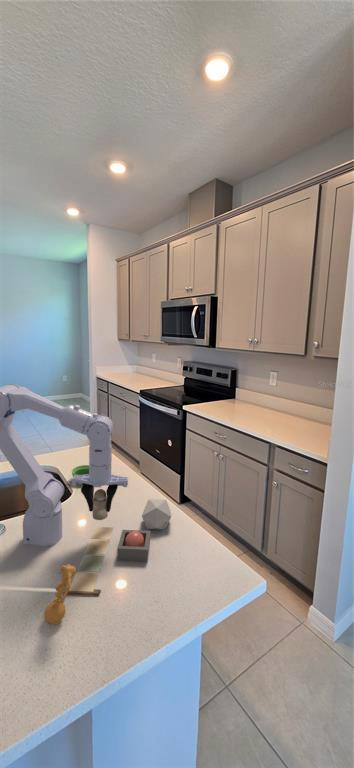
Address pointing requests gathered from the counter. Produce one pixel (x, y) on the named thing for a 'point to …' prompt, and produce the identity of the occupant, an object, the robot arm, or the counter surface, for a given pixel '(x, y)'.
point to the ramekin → (80, 470)
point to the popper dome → (134, 539)
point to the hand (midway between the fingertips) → (100, 509)
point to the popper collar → (133, 548)
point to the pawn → (100, 505)
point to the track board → (91, 563)
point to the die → (156, 514)
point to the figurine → (59, 596)
